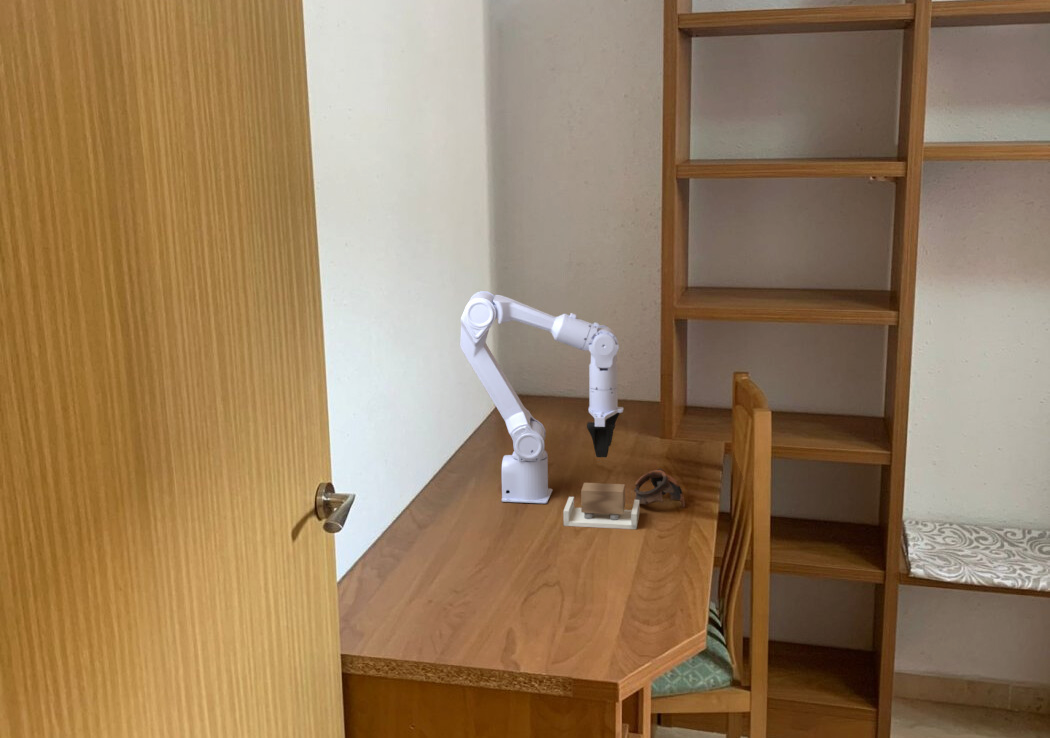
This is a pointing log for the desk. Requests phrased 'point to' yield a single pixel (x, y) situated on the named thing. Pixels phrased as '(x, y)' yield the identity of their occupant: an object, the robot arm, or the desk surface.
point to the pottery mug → (658, 488)
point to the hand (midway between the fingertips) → (603, 451)
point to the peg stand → (600, 517)
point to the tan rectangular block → (603, 498)
